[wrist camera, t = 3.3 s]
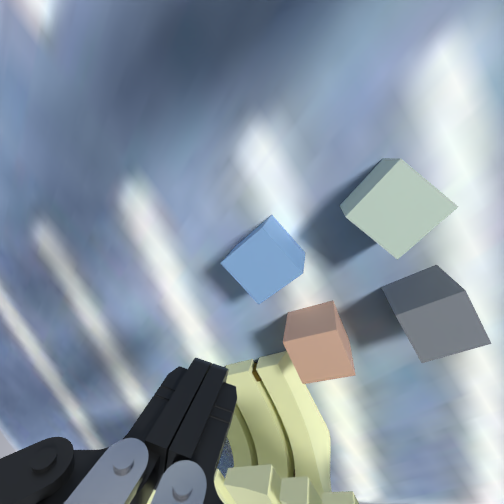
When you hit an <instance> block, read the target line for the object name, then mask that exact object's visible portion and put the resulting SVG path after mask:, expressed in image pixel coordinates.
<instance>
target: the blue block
mask: <svg viewBox="0 0 504 504" xmlns="http://www.w3.org/2000/svg"><path fill="white" fill-rule="evenodd" d="M304 260H305V252H304V251H303V250H302V249H301V247H300V246H299V245H298V244H297V243H296V242H295V241H294V239H293V238H292V237H291V236H290V235H289V234H288V233H287V231H286V230H285V229H284V228H283V227H282V226H281V225H280V223H279V222H278V221H277V220H276V219H275V218H274V217H273V215H271V216H270V217H269V218H268V219H266V220H265V221H264V222H263V223H262V224H261V225H259V226H258V227H257V228H256V229H255V230H254V231H253V232H251V233H250V234H249V235H248V236H247V237H246V238H244V239H243V240H242V241H241V242H240V243H239V244H238V245H236V246H235V248H234V249H233V250H232V251H231V252H230V253H229V254H228V255H227V257H226V258H225V259H224V260H223V261H222V262H221V264H222V265H223V267H224V268H225V269H226V270H227V271H228V272H229V273H230V274H231V275H232V276H233V277H234V278H235V280H236V281H237V282H238V283H239V284H240V285H241V286H242V287H243V288H244V289H245V290H246V291H247V292H248V294H249V295H250V296H251V297H252V298H253V299H254V300H255V301H256V302H257V303H258V304H260V303H262V302H263V301H265V300H266V299H267V298H269V297H270V296H272V295H273V294H274V293H276V292H277V291H279V290H280V289H282V288H283V287H284V286H286V285H287V284H289V283H290V282H291V281H293V280H294V279H296V278H297V277H299V276H300V275H301V274H303V269H304Z"/></svg>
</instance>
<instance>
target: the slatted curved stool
mask: <svg viewBox="0 0 504 504" xmlns="http://www.w3.org/2000/svg"><path fill="white" fill-rule="evenodd" d="M226 368H227V369H229V371H228V376H227V380H226V383H228V384H231V385H234V386H236V391H237V402H236V406H235V410H234V414H233V418H232V422H231V425H230V428H229V431H228V435H227V438H228V440H229V443H230V446H231V449H232V453H233V459H234V467H233V468H228V470H227V474H226V477H225V478H224V477H223V475H222V474H221V472H220V471H219V469H216V472H215V475H214V484H215V488H216V492H217V494H218V496H219V498H220V499H221V501H222V502H223V503H224V504H359V503H358V501H357V499H356V497H355V495H354V493H353V491H348V492H332V491H331V484H330V434H329V430H328V428H327V426H326V424H325V422H324V420H323V418H322V416H321V414H320V412H319V410H318V408H317V406H316V404H315V403H314V401H313V399H312V397H311V395H310V393H309V391H308V389H307V387H306V385H305V384H302V382H301V380H300V377H299V375H298V373H297V371H296V369H295V367H294V365H293V363H292V361H291V359H290V357H289V354H288V352H287V351H284V352H280V353H276V354H271V355H267V356H263V357H259V360H258V363H254V361H253V359H251V360H247V361H243V362H239V363H234V364H230V365H226ZM155 492H156V490H153V492H152V494H151V496H150V498H149V500H148V502H147V504H151V502H152V499H153V497H154V494H155Z"/></svg>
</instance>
